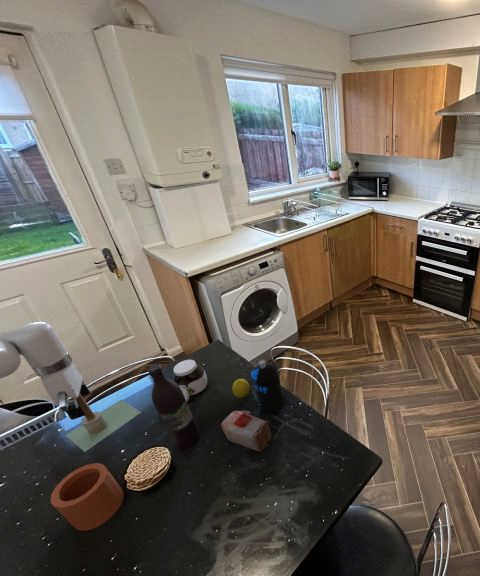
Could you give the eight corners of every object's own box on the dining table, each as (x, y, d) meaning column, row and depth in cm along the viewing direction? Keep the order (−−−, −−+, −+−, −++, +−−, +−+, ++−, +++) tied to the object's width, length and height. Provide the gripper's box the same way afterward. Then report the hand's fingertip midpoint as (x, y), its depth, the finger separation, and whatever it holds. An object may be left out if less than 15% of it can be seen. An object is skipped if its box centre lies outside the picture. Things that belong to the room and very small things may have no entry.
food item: (222, 442, 96) (214, 421, 92) (240, 421, 103) (234, 401, 98) (259, 456, 93) (252, 434, 88) (275, 433, 99) (270, 412, 95)
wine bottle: (173, 452, 93) (135, 381, 79) (176, 433, 99) (141, 363, 84) (200, 444, 96) (167, 372, 81) (201, 425, 102) (171, 356, 87)
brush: (106, 429, 99) (85, 397, 92) (87, 437, 97) (63, 404, 90) (108, 419, 103) (87, 386, 96) (89, 426, 101) (66, 393, 93)
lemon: (232, 401, 110) (226, 385, 106) (240, 389, 115) (236, 373, 111) (246, 403, 110) (241, 387, 106) (254, 391, 114) (250, 375, 110)
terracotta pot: (86, 539, 74) (63, 516, 69) (65, 517, 78) (42, 493, 73) (132, 498, 82) (114, 474, 77) (111, 480, 86) (93, 456, 81)
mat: (85, 453, 93) (84, 452, 93) (65, 436, 98) (65, 435, 98) (141, 413, 106) (141, 412, 105) (122, 400, 110) (121, 399, 110)
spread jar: (209, 378, 120) (201, 355, 114) (208, 400, 111) (199, 376, 105) (173, 388, 115) (163, 364, 110) (169, 411, 106) (157, 387, 101)
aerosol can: (277, 391, 114) (268, 349, 104) (288, 404, 109) (279, 362, 99) (256, 404, 109) (243, 361, 99) (266, 418, 104) (255, 375, 94)
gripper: (42, 351, 91) (70, 392, 99) (24, 389, 78) (59, 433, 87) (76, 342, 94) (100, 383, 103) (64, 377, 82) (93, 420, 90)
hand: (81, 405), depth 95 cm, fingers open, 9 cm apart
